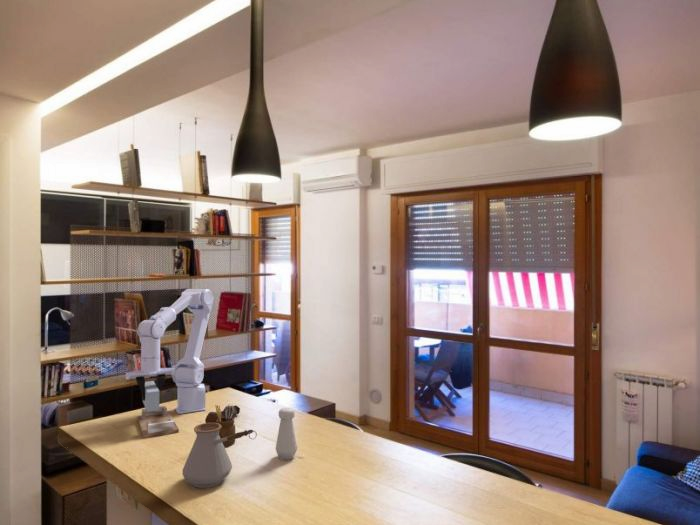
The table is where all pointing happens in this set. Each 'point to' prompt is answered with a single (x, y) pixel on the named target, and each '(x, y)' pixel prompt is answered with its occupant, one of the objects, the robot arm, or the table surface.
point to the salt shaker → (286, 435)
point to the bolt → (222, 414)
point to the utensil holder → (226, 426)
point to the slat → (151, 396)
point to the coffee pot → (209, 456)
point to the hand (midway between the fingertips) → (150, 398)
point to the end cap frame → (156, 423)
